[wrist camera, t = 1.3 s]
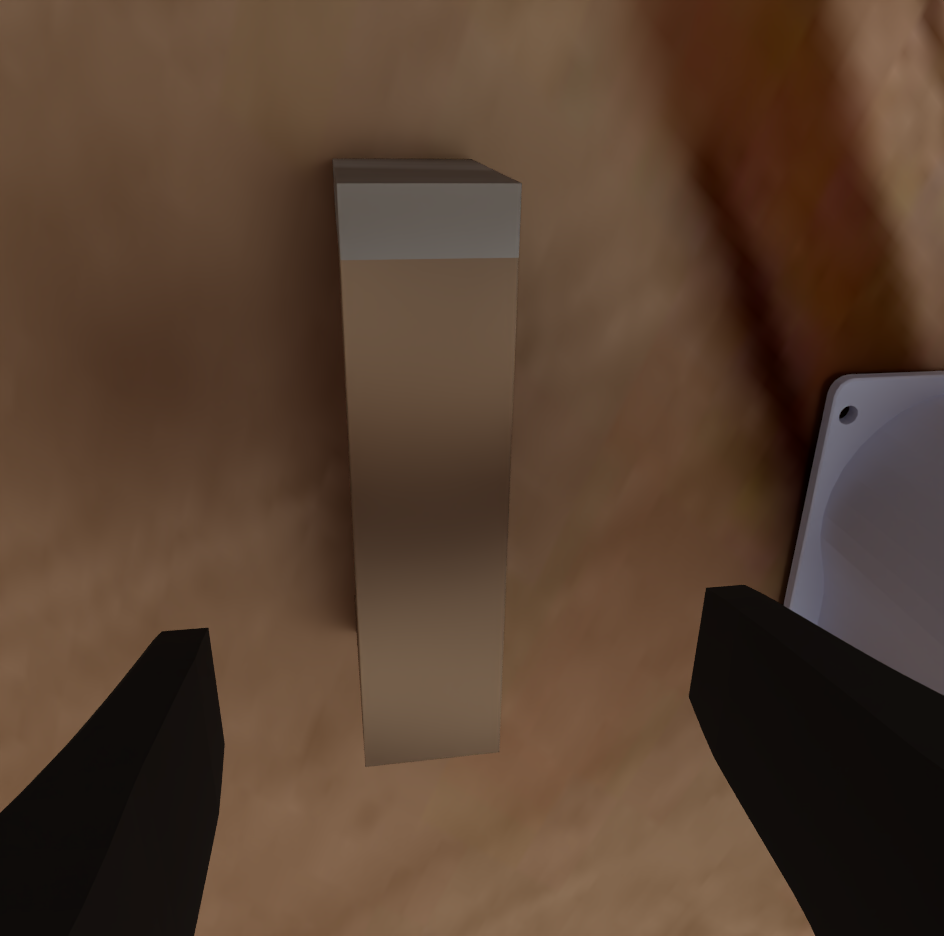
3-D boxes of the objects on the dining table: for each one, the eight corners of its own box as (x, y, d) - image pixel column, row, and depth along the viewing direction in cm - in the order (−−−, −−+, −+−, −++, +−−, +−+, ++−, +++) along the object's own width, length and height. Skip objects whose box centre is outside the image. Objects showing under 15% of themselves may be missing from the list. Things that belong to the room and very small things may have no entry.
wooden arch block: (464, 622, 23) (499, 752, 19) (356, 632, 23) (365, 766, 18) (471, 159, 18) (521, 183, 14) (332, 158, 18) (336, 183, 13)
